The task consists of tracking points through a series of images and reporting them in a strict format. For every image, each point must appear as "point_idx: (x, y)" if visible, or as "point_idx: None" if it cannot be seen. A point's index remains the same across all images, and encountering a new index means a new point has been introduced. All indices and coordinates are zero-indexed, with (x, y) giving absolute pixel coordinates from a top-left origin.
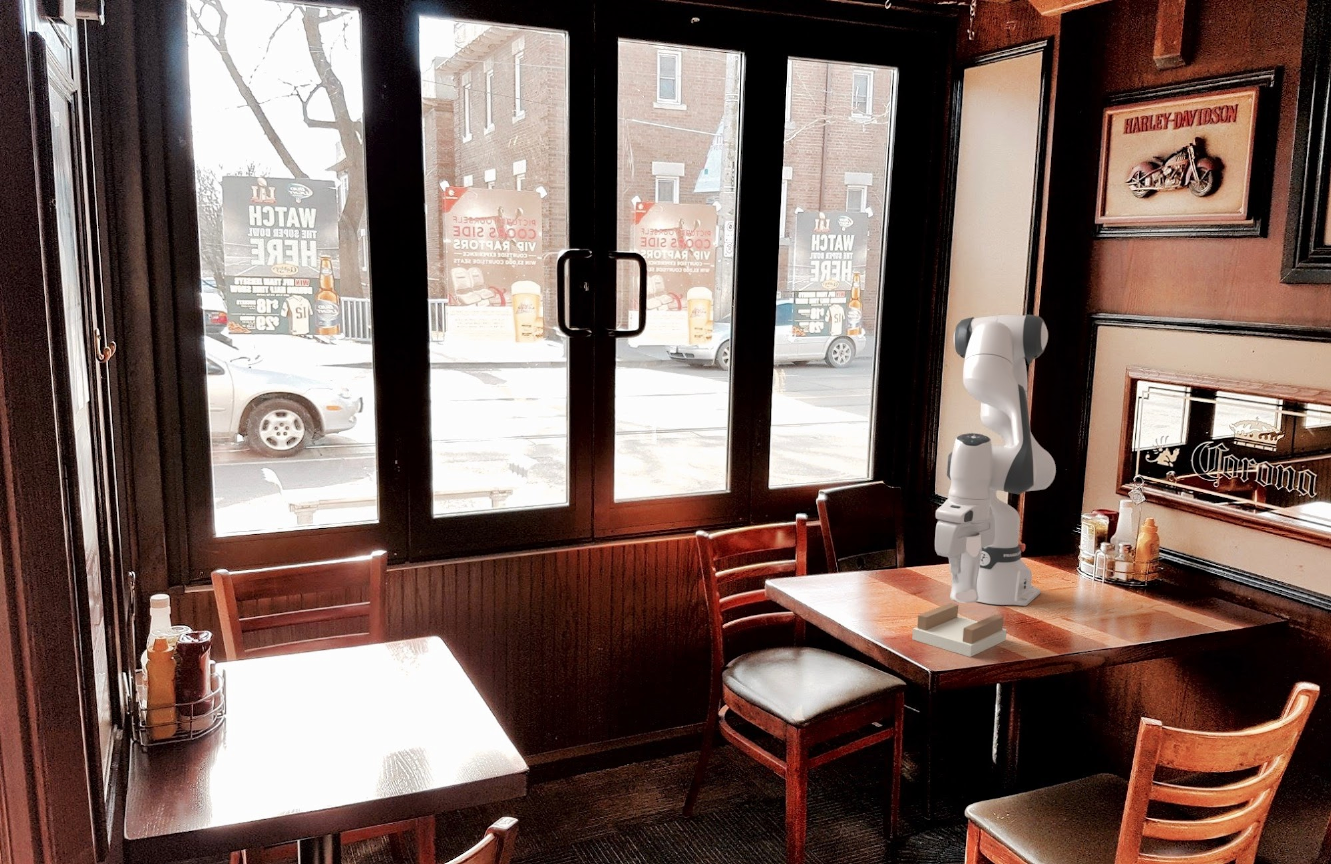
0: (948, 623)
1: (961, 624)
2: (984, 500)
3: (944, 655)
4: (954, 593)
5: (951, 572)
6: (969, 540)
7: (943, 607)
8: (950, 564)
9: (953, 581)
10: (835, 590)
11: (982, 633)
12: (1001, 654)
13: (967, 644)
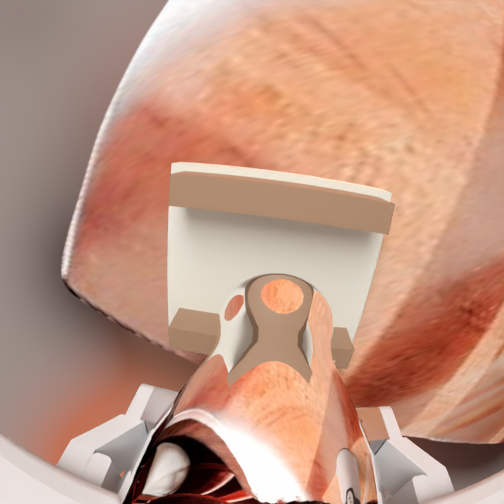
0: (298, 224)
1: (316, 257)
2: None
3: (143, 270)
4: (221, 318)
5: (142, 385)
6: None
7: (325, 204)
8: (178, 397)
9: (217, 342)
10: None
11: None
12: None
13: (169, 322)
